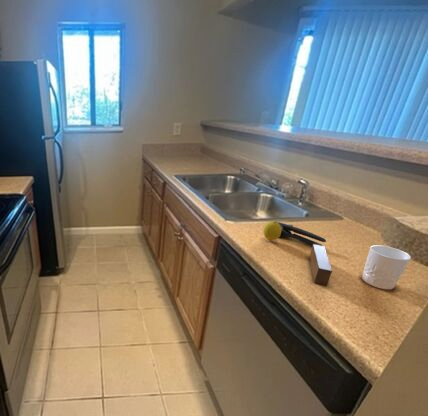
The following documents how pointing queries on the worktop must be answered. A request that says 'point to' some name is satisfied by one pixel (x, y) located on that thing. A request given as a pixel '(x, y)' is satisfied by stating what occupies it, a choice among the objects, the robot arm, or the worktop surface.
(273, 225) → the lemon
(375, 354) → the worktop surface
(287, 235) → the can opener
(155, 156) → the worktop surface
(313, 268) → the walnut rail
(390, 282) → the white cup
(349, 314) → the worktop surface
